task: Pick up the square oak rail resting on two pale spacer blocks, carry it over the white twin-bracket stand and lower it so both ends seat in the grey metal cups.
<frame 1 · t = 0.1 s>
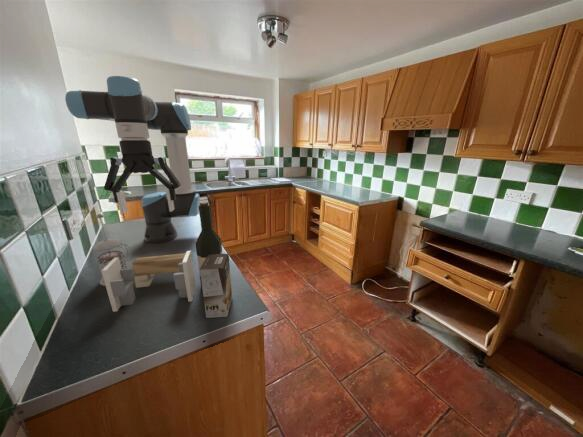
hand: (148, 211, 75), 28 cm above the table, fingers open, 13 cm apart
rail: (164, 270, 87), point 4 cm above the table, touching spacers
spacers: (166, 279, 88), on the table
french press: (118, 277, 90), on the table
wine bottle: (213, 284, 86), on the table
brackets: (157, 298, 78), on the table
coffee box: (220, 307, 74), on the table
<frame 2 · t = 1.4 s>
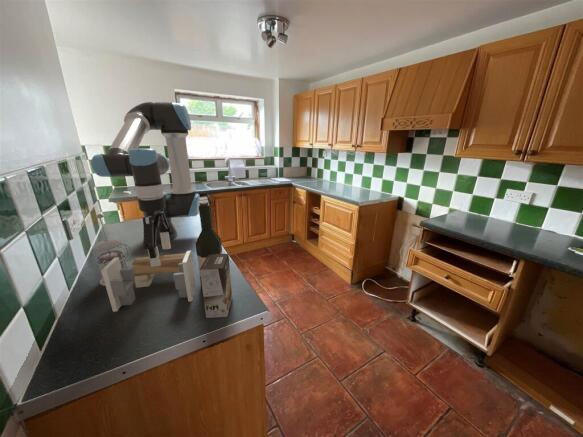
hand: (161, 256, 85), 10 cm above the table, fingers open, 13 cm apart
nothing on the table moved.
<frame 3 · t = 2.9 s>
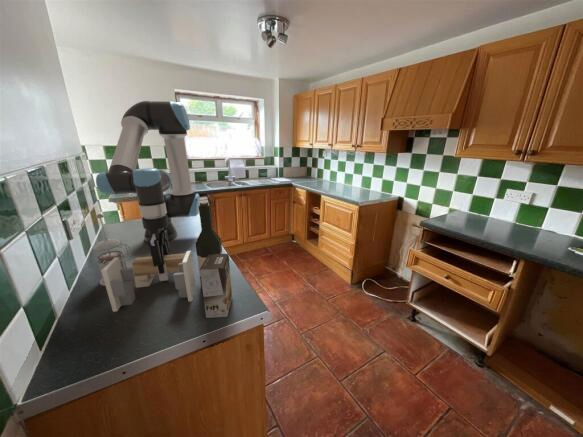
hand: (165, 276, 88), 1 cm above the table, fingers closed on rail, 4 cm apart
rail: (164, 270, 87), point 4 cm above the table, touching gripper, spacers
everything else where it was.
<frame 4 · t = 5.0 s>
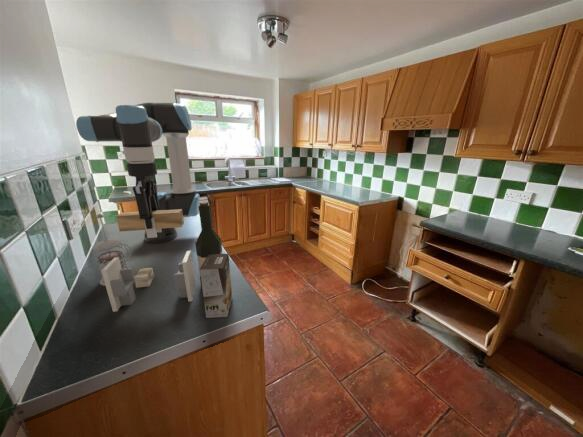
hand: (154, 234, 79), 19 cm above the table, fingers closed on rail, 4 cm apart
rail: (153, 227, 78), point 22 cm above the table, touching gripper
everything else where it was.
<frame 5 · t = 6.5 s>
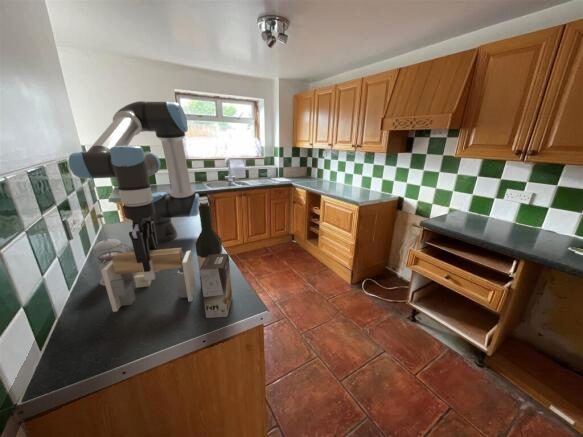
hand: (152, 274, 75), 9 cm above the table, fingers closed on rail, 4 cm apart
rail: (151, 267, 74), point 11 cm above the table, touching gripper
everything else where it was.
when the fingers open (5 cm above the table, at t = 7.5 s): rail drops 1 cm, resting on brackets.
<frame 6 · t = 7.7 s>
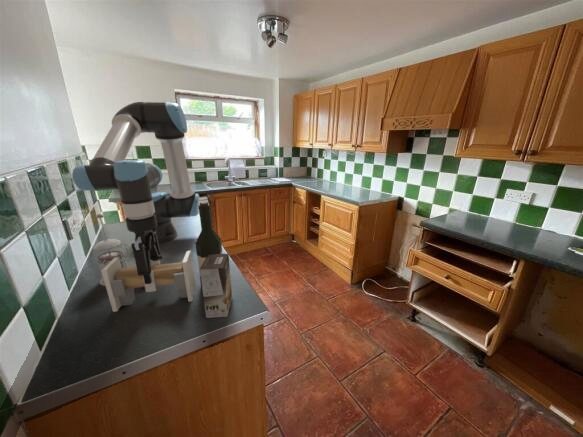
hand: (154, 284, 76), 5 cm above the table, fingers open, 6 cm apart
rail: (154, 282, 76), point 6 cm above the table, touching brackets
everything else where it was.
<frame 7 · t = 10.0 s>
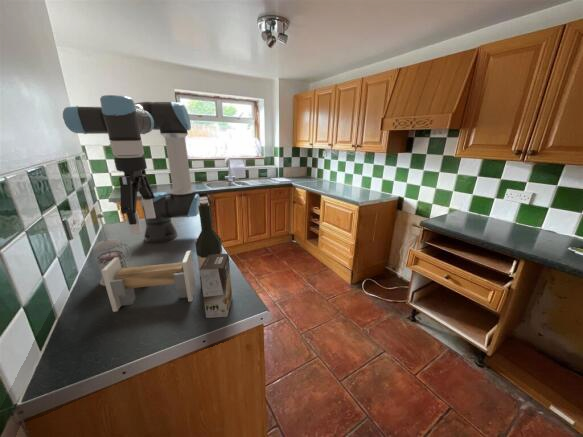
hand: (144, 225, 76), 23 cm above the table, fingers open, 13 cm apart
nothing on the table moved.
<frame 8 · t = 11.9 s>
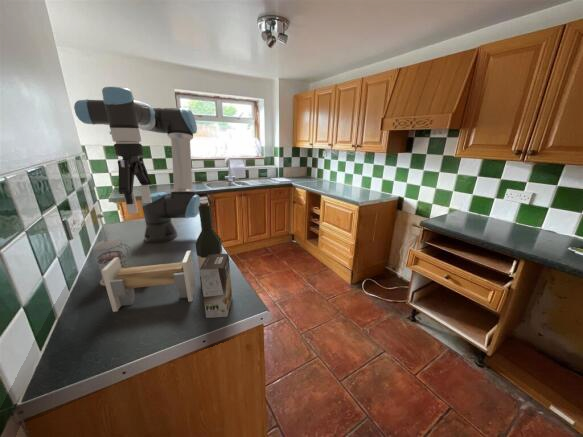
hand: (141, 207, 82), 27 cm above the table, fingers open, 13 cm apart
nothing on the table moved.
at the end: rail 0.1 cm off-centre on the brackets, point 6.0 cm above the brackets's base; rail tilted 0°; the gripper is holding nothing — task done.
